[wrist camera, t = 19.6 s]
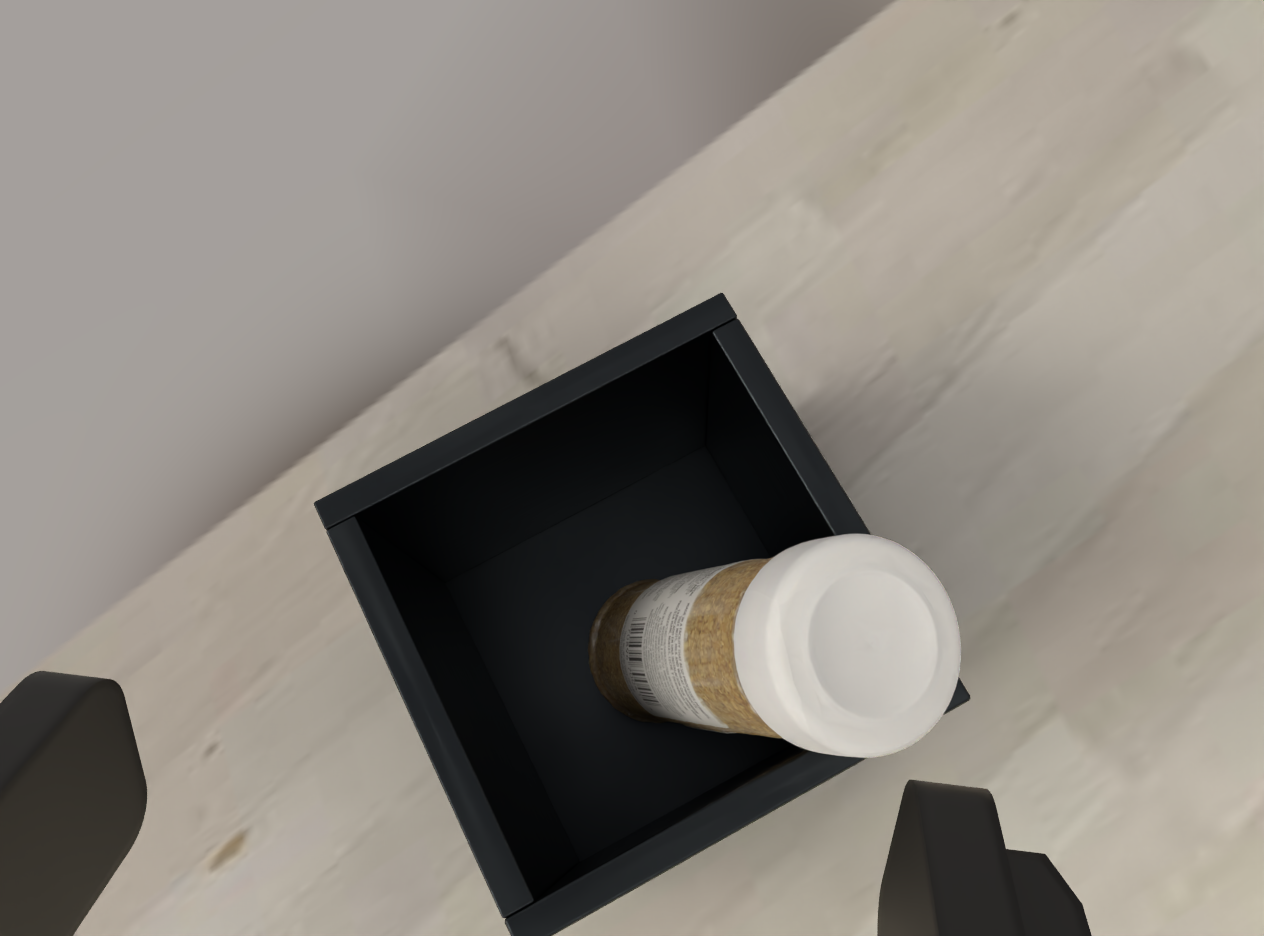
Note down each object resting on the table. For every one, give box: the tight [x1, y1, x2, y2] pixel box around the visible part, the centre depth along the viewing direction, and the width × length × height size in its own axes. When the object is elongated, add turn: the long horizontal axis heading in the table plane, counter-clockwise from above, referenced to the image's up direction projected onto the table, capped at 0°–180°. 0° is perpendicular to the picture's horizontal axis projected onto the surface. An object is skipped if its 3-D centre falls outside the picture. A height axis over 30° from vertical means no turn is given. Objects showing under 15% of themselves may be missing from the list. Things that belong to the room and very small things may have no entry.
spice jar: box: [588, 534, 961, 758], centre depth 27 cm, size 5×5×13 cm
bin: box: [314, 293, 970, 936], centre depth 30 cm, size 12×12×10 cm
